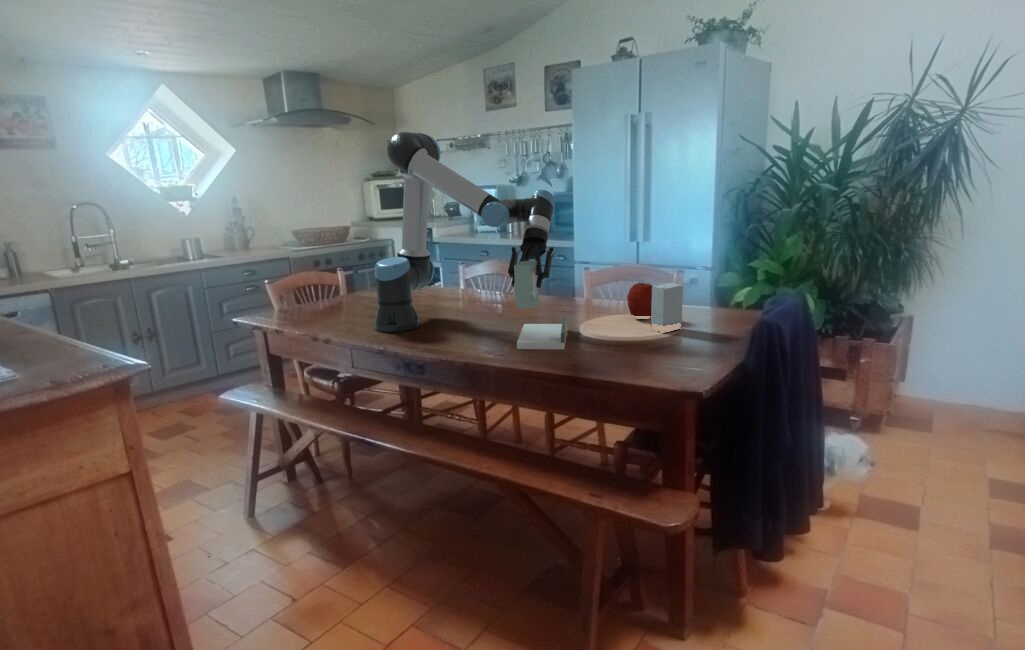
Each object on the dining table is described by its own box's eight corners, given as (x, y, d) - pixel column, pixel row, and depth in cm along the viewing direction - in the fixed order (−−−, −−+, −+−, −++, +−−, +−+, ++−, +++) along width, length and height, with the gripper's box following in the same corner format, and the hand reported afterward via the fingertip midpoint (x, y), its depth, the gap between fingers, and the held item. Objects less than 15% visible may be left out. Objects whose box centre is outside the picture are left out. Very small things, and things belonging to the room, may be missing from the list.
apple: (626, 322, 201) (626, 282, 198) (627, 315, 210) (628, 277, 207) (657, 323, 199) (658, 282, 195) (657, 316, 208) (658, 277, 205)
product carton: (516, 308, 178) (514, 265, 174) (523, 302, 185) (521, 260, 182) (532, 309, 176) (530, 265, 173) (539, 302, 184) (537, 261, 180)
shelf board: (516, 349, 175) (516, 332, 174) (524, 329, 196) (523, 315, 195) (566, 349, 173) (566, 332, 172) (568, 329, 194) (568, 315, 193)
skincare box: (669, 326, 194) (670, 281, 191) (682, 330, 189) (684, 284, 186) (649, 330, 191) (650, 285, 187) (662, 334, 185) (664, 287, 182)
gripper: (566, 240, 187) (556, 303, 177) (511, 240, 193) (498, 301, 182) (562, 225, 181) (551, 289, 170) (506, 226, 186) (491, 288, 176)
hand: (524, 295), depth 176 cm, fingers closed on product carton, 5 cm apart
